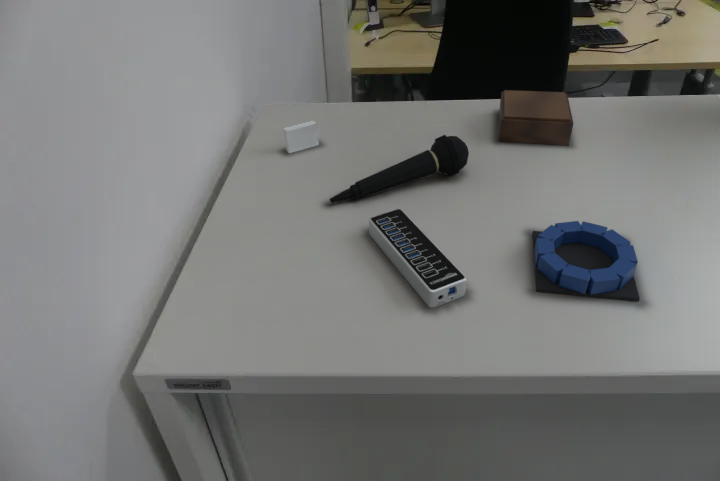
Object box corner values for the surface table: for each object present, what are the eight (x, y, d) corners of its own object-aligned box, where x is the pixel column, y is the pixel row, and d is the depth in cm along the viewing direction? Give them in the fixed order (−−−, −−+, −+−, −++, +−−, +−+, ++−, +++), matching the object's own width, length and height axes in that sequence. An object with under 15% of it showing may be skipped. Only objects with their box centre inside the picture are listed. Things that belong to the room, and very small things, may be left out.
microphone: (340, 229, 73) (473, 176, 77) (337, 203, 68) (479, 148, 72) (324, 199, 76) (453, 149, 80) (320, 172, 71) (457, 120, 75)
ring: (623, 236, 64) (627, 224, 63) (640, 299, 56) (645, 286, 55) (532, 229, 66) (535, 217, 65) (537, 289, 58) (539, 276, 57)
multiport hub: (400, 222, 69) (400, 207, 67) (467, 294, 58) (468, 278, 57) (368, 233, 68) (367, 217, 66) (430, 309, 57) (431, 292, 56)
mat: (622, 240, 64) (623, 237, 64) (638, 301, 57) (639, 298, 56) (532, 233, 66) (532, 230, 66) (536, 291, 58) (536, 288, 58)
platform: (563, 114, 89) (567, 91, 87) (568, 145, 82) (574, 120, 79) (499, 112, 91) (501, 88, 89) (498, 141, 84) (501, 117, 81)
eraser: (319, 145, 85) (316, 123, 83) (289, 153, 84) (285, 131, 82) (315, 141, 86) (313, 120, 84) (286, 150, 85) (282, 128, 82)
